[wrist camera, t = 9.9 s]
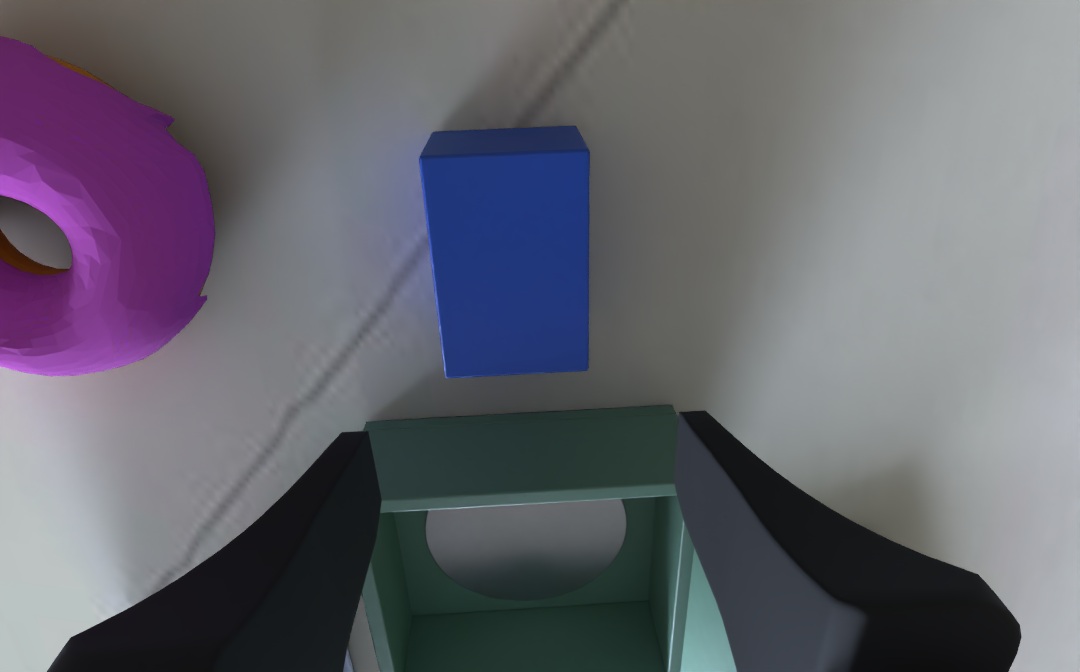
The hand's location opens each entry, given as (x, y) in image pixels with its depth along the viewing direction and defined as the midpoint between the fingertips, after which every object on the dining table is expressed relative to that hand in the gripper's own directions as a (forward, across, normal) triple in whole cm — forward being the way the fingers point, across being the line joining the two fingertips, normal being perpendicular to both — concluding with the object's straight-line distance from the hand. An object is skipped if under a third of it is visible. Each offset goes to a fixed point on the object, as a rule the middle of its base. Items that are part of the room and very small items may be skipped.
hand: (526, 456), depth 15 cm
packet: (+9, 0, -2) cm, 9 cm away
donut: (+9, +14, -4) cm, 17 cm away
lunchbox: (+9, 0, +11) cm, 14 cm away
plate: (+9, 0, +11) cm, 14 cm away
